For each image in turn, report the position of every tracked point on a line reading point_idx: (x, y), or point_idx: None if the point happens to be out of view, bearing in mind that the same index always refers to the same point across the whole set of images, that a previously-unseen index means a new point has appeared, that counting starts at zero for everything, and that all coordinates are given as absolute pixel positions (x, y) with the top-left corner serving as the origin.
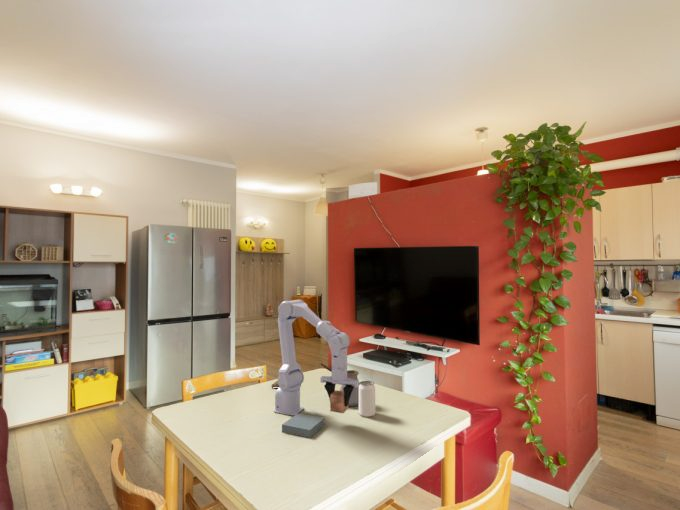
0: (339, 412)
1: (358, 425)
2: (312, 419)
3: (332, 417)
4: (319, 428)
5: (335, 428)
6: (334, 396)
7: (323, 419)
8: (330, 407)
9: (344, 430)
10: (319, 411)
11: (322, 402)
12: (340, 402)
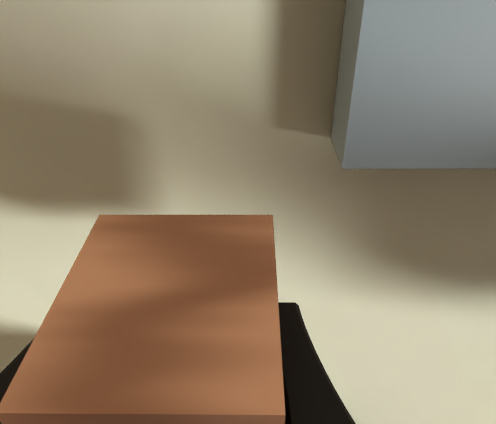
0: (145, 216)
1: (62, 229)
2: (462, 80)
3: (316, 276)
4: (343, 32)
5: (200, 110)
6: (191, 386)
7: (342, 148)
8: (272, 243)
9: (105, 105)
10: (448, 323)
11: (462, 420)
12: (93, 311)
